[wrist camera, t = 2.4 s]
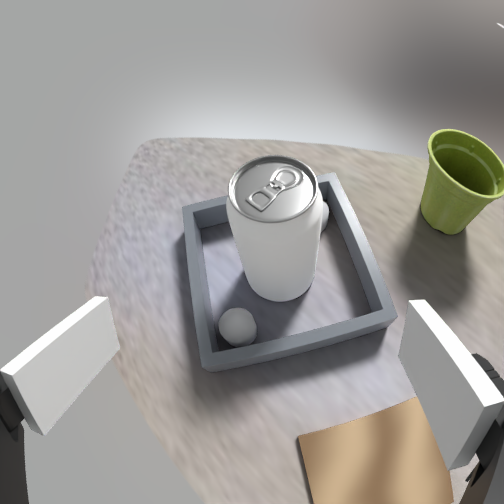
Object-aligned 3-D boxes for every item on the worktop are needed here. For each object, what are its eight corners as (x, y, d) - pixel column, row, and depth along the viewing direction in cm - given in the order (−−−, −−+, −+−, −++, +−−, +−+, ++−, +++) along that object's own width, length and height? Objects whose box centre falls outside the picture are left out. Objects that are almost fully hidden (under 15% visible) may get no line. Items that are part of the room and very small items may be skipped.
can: (328, 269, 29) (345, 182, 18) (281, 317, 27) (274, 249, 17) (279, 230, 31) (270, 138, 21) (232, 273, 30) (200, 190, 19)
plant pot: (391, 192, 32) (410, 134, 25) (446, 175, 33) (469, 124, 25) (434, 259, 28) (470, 208, 20) (488, 233, 28) (522, 186, 20)
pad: (428, 390, 21) (431, 390, 21) (451, 500, 15) (453, 501, 15) (297, 436, 22) (298, 436, 21) (324, 550, 15) (325, 552, 15)
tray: (332, 191, 33) (334, 172, 31) (387, 327, 25) (397, 316, 22) (190, 223, 33) (182, 206, 31) (211, 372, 25) (201, 367, 22)
